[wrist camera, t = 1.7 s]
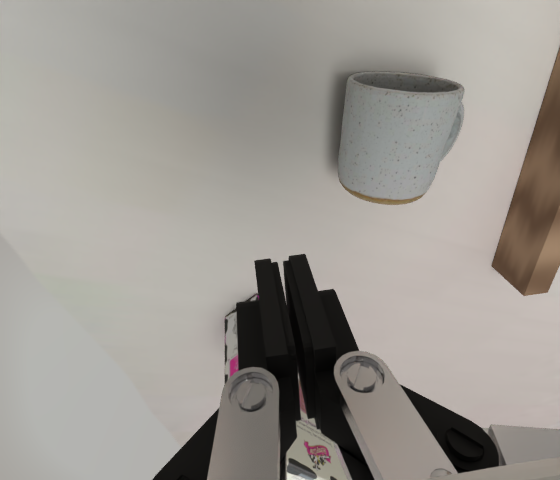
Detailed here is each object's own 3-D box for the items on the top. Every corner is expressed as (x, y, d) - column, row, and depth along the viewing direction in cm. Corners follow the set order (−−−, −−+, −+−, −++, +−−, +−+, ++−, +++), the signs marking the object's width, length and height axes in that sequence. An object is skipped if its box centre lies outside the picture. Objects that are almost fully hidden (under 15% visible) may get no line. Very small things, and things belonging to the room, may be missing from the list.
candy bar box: (221, 317, 38) (218, 489, 24) (256, 291, 36) (274, 456, 23) (287, 363, 43) (315, 525, 29) (319, 342, 42) (365, 500, 28)
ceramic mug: (325, 174, 31) (354, 216, 24) (334, 70, 26) (371, 87, 20) (438, 169, 32) (494, 207, 26) (464, 70, 28) (539, 85, 21)
